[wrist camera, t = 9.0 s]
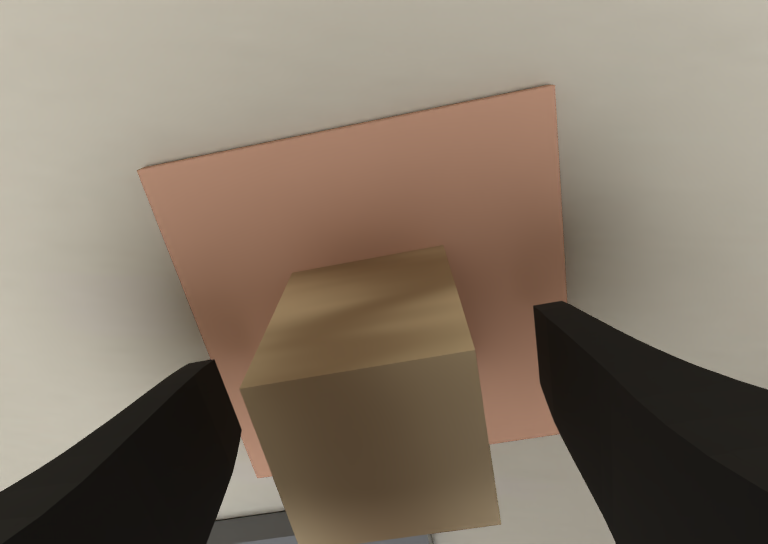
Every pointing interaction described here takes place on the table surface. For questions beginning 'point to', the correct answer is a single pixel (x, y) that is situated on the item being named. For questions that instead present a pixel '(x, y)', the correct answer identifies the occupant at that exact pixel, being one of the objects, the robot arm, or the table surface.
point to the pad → (380, 233)
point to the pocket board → (276, 532)
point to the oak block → (373, 403)
